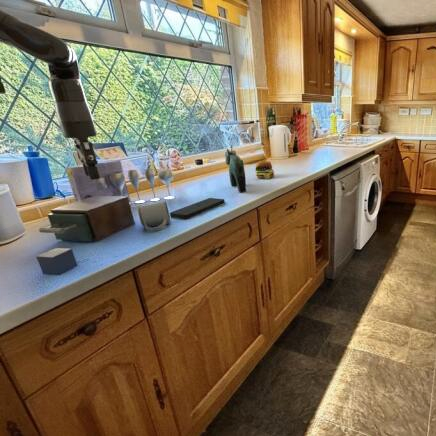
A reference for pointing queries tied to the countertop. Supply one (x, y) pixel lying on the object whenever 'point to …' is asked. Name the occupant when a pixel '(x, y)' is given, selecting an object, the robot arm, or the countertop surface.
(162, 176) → the goblet set
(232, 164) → the dark green animal figure
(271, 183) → the countertop surface
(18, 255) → the countertop surface
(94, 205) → the cabinet
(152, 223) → the ceramic mug
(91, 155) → the robot arm
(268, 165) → the cheeseburger
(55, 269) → the block
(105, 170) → the cake pan box
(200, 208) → the smart home device
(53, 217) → the drawer
